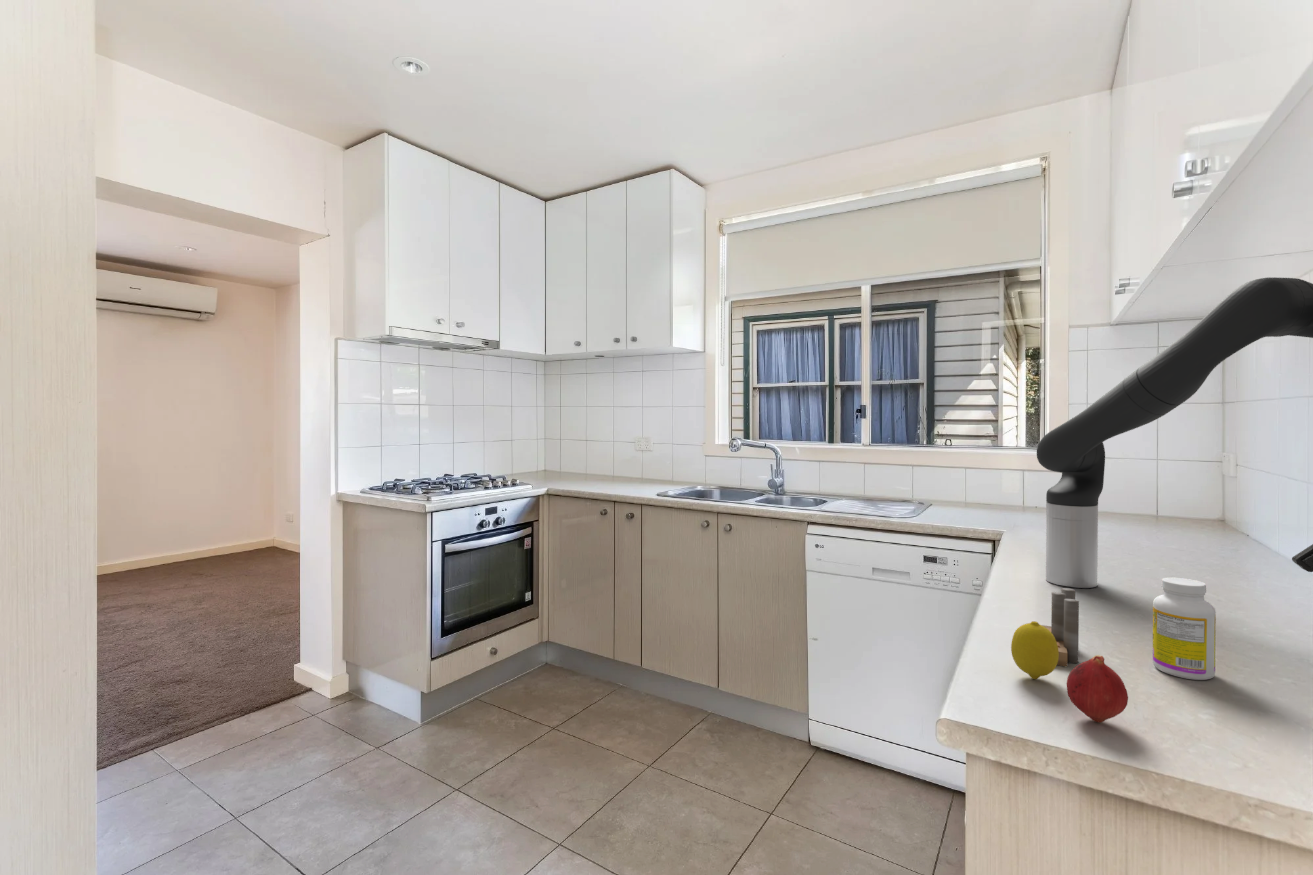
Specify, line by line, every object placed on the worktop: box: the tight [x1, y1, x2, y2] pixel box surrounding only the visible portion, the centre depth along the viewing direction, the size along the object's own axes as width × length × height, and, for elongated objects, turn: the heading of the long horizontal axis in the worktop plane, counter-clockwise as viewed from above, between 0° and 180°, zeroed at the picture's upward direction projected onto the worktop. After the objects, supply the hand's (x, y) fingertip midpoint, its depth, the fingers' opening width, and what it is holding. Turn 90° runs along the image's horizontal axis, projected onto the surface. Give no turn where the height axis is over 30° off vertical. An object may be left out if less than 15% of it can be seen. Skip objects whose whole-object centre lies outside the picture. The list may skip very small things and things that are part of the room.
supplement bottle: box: [1152, 576, 1217, 681], centre depth 84 cm, size 7×7×13 cm
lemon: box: [1010, 621, 1059, 680], centre depth 82 cm, size 6×6×8 cm
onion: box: [1065, 654, 1129, 724], centre depth 71 cm, size 6×6×8 cm
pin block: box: [1041, 587, 1080, 667], centre depth 92 cm, size 12×6×9 cm, turn 149°
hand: (1300, 566), depth 81 cm, fingers closed
